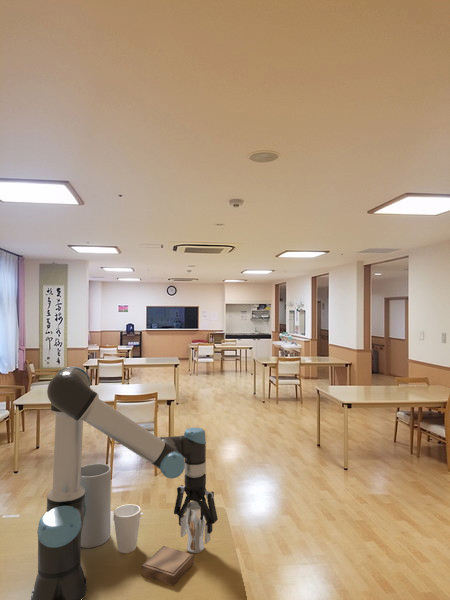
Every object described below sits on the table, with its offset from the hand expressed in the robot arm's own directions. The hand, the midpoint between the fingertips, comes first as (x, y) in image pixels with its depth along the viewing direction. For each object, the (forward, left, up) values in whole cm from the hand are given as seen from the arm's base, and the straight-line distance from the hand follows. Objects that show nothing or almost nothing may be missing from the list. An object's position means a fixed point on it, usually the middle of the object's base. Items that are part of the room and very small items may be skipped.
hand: (195, 538), depth 144 cm
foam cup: (-22, -10, -4) cm, 24 cm away
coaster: (-2, -14, -3) cm, 15 cm away
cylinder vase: (-37, -11, -4) cm, 39 cm away
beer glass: (0, 0, -4) cm, 4 cm away
